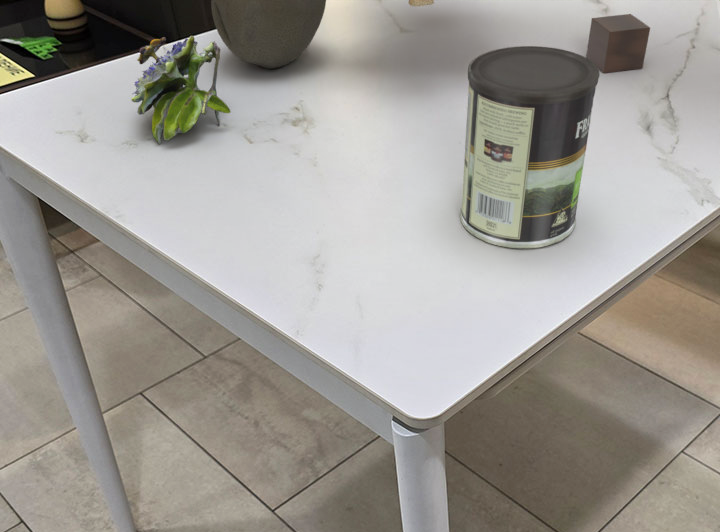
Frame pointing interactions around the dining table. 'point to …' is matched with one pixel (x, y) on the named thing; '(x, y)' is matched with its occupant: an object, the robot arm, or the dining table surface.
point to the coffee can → (526, 144)
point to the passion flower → (176, 87)
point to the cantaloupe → (267, 28)
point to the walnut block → (617, 43)
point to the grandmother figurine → (420, 2)
